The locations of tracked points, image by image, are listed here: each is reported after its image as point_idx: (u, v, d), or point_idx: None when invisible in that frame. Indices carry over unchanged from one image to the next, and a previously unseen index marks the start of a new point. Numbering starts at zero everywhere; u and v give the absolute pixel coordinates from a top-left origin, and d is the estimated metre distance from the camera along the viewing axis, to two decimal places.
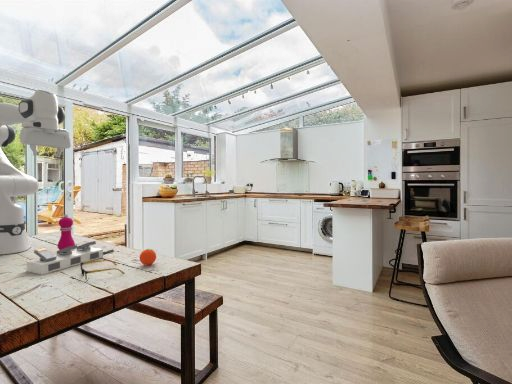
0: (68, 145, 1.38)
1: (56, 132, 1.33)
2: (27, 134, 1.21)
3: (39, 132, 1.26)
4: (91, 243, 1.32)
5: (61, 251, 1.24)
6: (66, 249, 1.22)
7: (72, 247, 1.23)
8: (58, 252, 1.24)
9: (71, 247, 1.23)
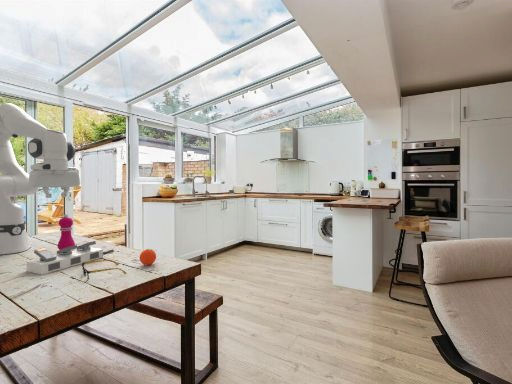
0: (78, 183, 1.34)
1: (65, 172, 1.28)
2: (36, 178, 1.17)
3: (48, 174, 1.21)
4: (91, 243, 1.32)
5: (61, 251, 1.24)
6: (66, 249, 1.22)
7: (72, 247, 1.23)
8: (58, 252, 1.24)
9: (71, 247, 1.23)
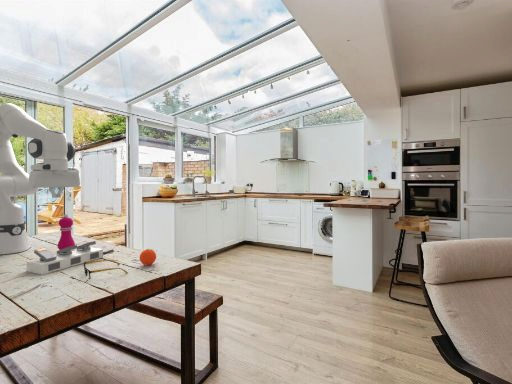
0: (78, 184, 1.34)
1: (66, 172, 1.28)
2: (37, 178, 1.17)
3: (48, 174, 1.21)
4: (91, 243, 1.32)
5: (61, 251, 1.24)
6: (66, 249, 1.22)
7: (72, 247, 1.23)
8: (58, 252, 1.24)
9: (71, 247, 1.23)
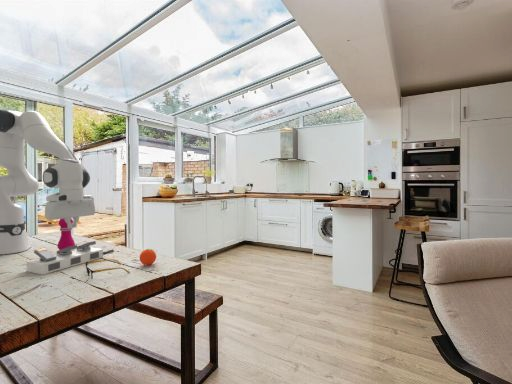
0: (93, 212, 1.30)
1: (81, 201, 1.25)
2: (53, 210, 1.14)
3: (64, 204, 1.18)
4: (91, 243, 1.32)
5: (61, 251, 1.24)
6: (66, 249, 1.22)
7: (72, 247, 1.23)
8: (58, 252, 1.24)
9: (71, 247, 1.23)
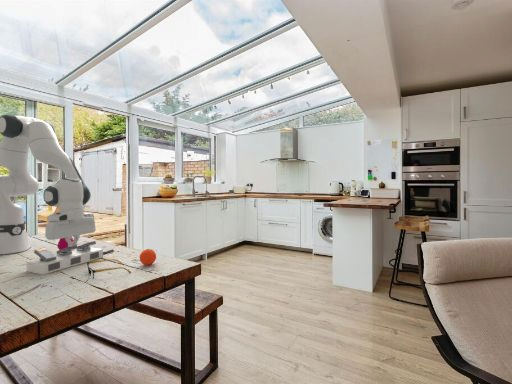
0: (93, 229, 1.31)
1: (81, 219, 1.25)
2: (53, 230, 1.14)
3: (65, 224, 1.18)
4: (91, 243, 1.32)
5: (61, 251, 1.24)
6: (66, 249, 1.22)
7: (72, 247, 1.23)
8: (58, 252, 1.24)
9: (71, 247, 1.23)
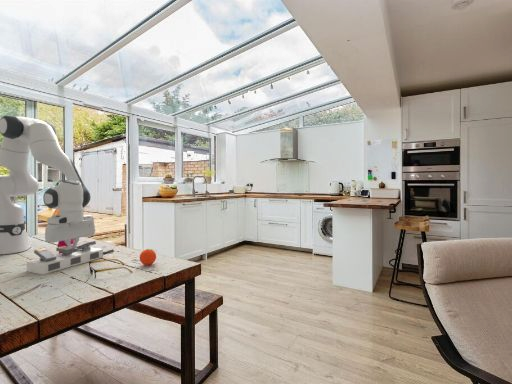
0: (93, 232, 1.31)
1: (81, 222, 1.26)
2: (53, 233, 1.14)
3: (64, 227, 1.19)
4: (91, 243, 1.32)
5: (61, 250, 1.24)
6: (66, 251, 1.22)
7: (72, 251, 1.23)
8: (58, 249, 1.24)
9: (72, 251, 1.23)
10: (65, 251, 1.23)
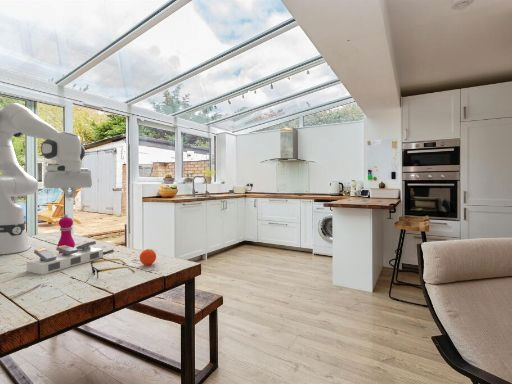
0: (90, 184, 1.37)
1: (79, 173, 1.32)
2: (52, 179, 1.21)
3: (62, 175, 1.25)
4: (91, 243, 1.32)
5: (61, 250, 1.24)
6: (66, 252, 1.22)
7: (72, 251, 1.23)
8: (58, 249, 1.24)
9: (72, 251, 1.23)
10: (65, 251, 1.23)
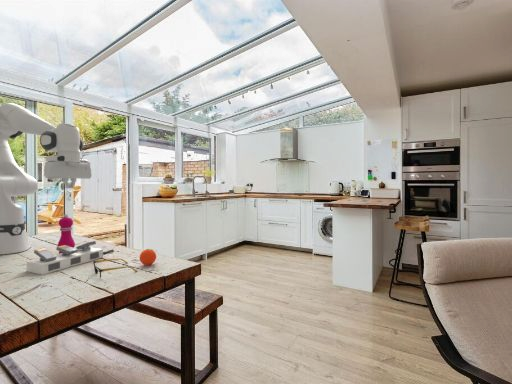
0: (89, 175, 1.39)
1: (78, 164, 1.34)
2: (52, 168, 1.22)
3: (62, 165, 1.27)
4: (91, 243, 1.32)
5: (61, 250, 1.24)
6: (66, 252, 1.22)
7: (72, 252, 1.23)
8: (58, 249, 1.24)
9: (72, 252, 1.23)
10: (65, 251, 1.23)
